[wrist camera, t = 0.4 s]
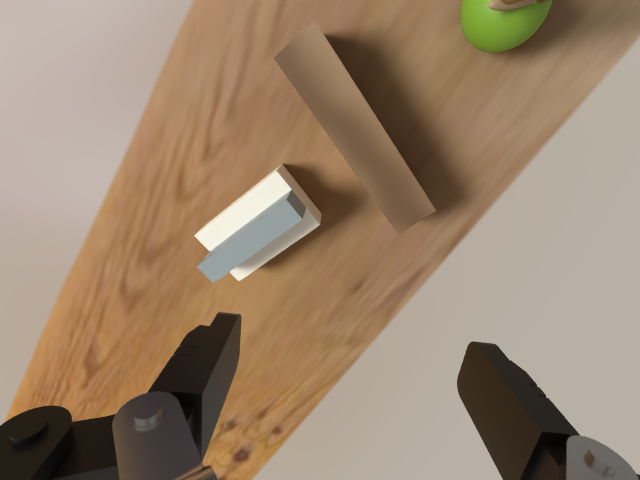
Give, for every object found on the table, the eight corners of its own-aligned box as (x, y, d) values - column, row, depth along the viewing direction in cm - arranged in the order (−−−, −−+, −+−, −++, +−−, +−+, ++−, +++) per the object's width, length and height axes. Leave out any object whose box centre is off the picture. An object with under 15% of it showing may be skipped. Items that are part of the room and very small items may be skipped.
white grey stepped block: (282, 163, 29) (269, 178, 24) (321, 213, 31) (318, 238, 25) (206, 223, 32) (179, 249, 27) (246, 266, 34) (228, 299, 28)
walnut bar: (318, 34, 25) (314, 20, 21) (421, 193, 30) (436, 210, 25) (285, 64, 26) (273, 57, 22) (389, 214, 31) (398, 234, 26)
